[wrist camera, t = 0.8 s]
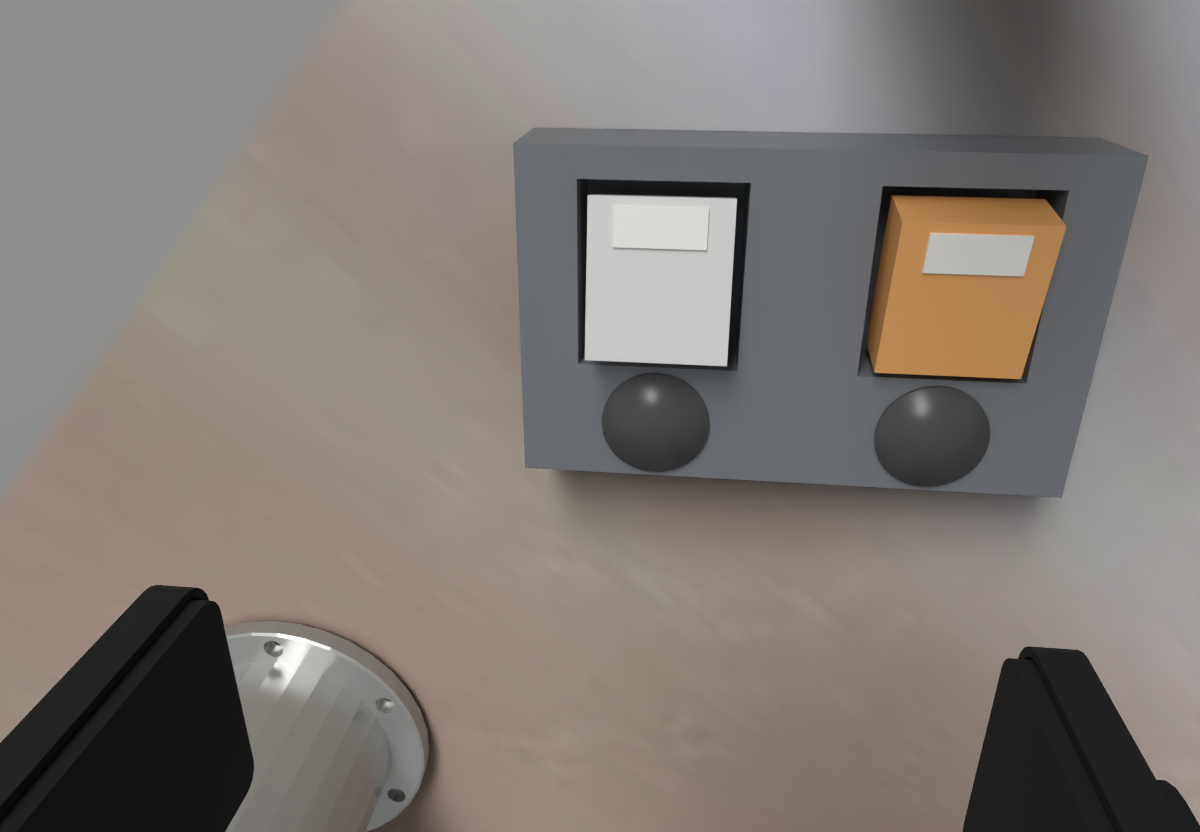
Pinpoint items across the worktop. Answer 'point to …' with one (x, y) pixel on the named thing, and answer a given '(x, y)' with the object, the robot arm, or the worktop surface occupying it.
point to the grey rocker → (659, 278)
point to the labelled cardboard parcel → (961, 285)
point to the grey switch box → (812, 311)
